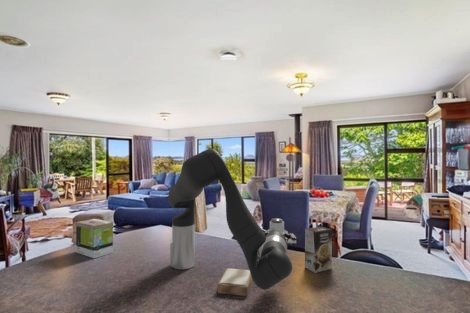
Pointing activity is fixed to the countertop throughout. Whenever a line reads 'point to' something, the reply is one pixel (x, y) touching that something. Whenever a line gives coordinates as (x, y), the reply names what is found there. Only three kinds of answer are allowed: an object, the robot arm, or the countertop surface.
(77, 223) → the tea box
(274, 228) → the cylinder
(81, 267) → the countertop surface
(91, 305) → the countertop surface
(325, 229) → the coffee box
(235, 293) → the plinth
